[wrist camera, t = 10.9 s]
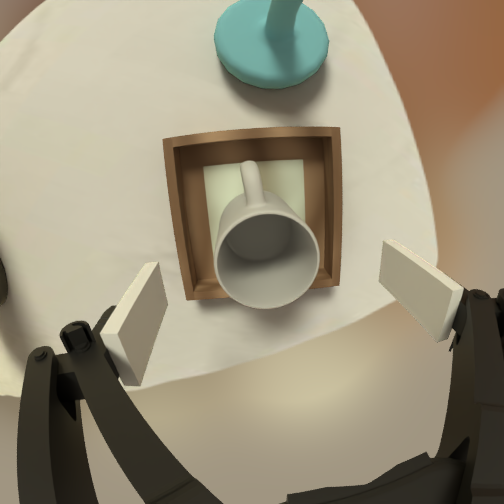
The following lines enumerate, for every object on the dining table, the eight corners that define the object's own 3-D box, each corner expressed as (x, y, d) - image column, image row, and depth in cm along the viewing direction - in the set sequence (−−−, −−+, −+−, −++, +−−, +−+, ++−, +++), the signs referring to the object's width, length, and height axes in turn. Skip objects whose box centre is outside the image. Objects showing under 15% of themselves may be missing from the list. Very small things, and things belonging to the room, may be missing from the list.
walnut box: (191, 284, 35) (186, 300, 31) (171, 140, 28) (162, 139, 25) (329, 271, 35) (339, 285, 32) (327, 129, 29) (339, 127, 25)
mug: (298, 253, 33) (325, 299, 23) (228, 267, 33) (226, 319, 23) (282, 152, 29) (308, 153, 18) (205, 167, 29) (189, 175, 18)
